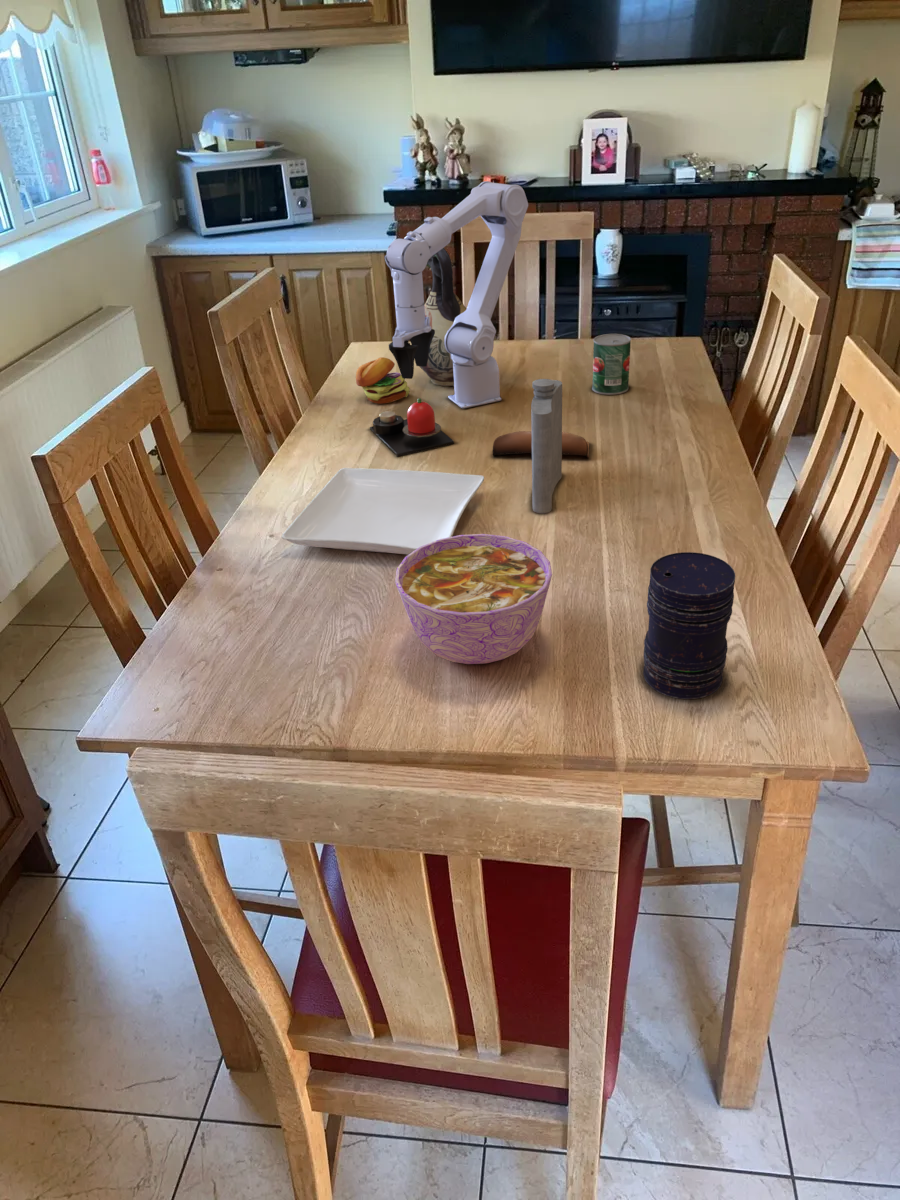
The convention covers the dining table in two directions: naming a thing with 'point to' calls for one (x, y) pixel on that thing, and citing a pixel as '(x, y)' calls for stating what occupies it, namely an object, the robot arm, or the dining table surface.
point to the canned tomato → (611, 364)
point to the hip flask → (546, 442)
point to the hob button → (387, 417)
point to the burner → (435, 431)
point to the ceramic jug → (441, 318)
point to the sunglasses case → (523, 444)
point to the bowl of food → (474, 595)
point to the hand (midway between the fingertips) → (414, 371)
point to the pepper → (420, 417)
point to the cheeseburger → (381, 381)
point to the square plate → (384, 510)
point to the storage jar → (687, 624)
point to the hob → (406, 438)
